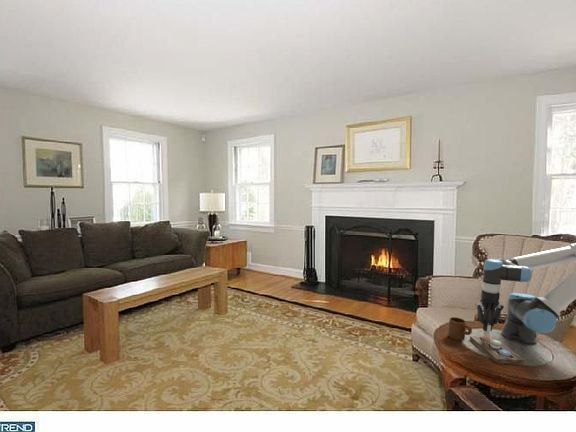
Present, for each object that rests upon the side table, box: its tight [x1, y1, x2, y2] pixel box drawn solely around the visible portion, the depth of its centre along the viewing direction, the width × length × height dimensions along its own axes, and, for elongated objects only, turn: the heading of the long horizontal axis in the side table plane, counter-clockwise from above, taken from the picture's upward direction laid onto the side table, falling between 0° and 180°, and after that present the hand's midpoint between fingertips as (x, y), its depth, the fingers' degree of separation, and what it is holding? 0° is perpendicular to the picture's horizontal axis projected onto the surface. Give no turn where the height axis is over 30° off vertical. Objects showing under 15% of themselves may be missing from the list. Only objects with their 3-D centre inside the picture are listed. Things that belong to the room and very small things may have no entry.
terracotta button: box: [481, 334, 492, 343], centre depth 161 cm, size 4×4×3 cm
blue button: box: [499, 349, 511, 358], centre depth 147 cm, size 4×4×3 cm
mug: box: [447, 316, 473, 342], centre depth 165 cm, size 12×8×9 cm, turn 21°
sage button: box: [490, 339, 502, 350], centre depth 154 cm, size 4×4×3 cm
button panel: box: [469, 335, 525, 365], centre depth 154 cm, size 12×22×2 cm, turn 179°
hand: (486, 336), depth 161 cm, fingers closed
